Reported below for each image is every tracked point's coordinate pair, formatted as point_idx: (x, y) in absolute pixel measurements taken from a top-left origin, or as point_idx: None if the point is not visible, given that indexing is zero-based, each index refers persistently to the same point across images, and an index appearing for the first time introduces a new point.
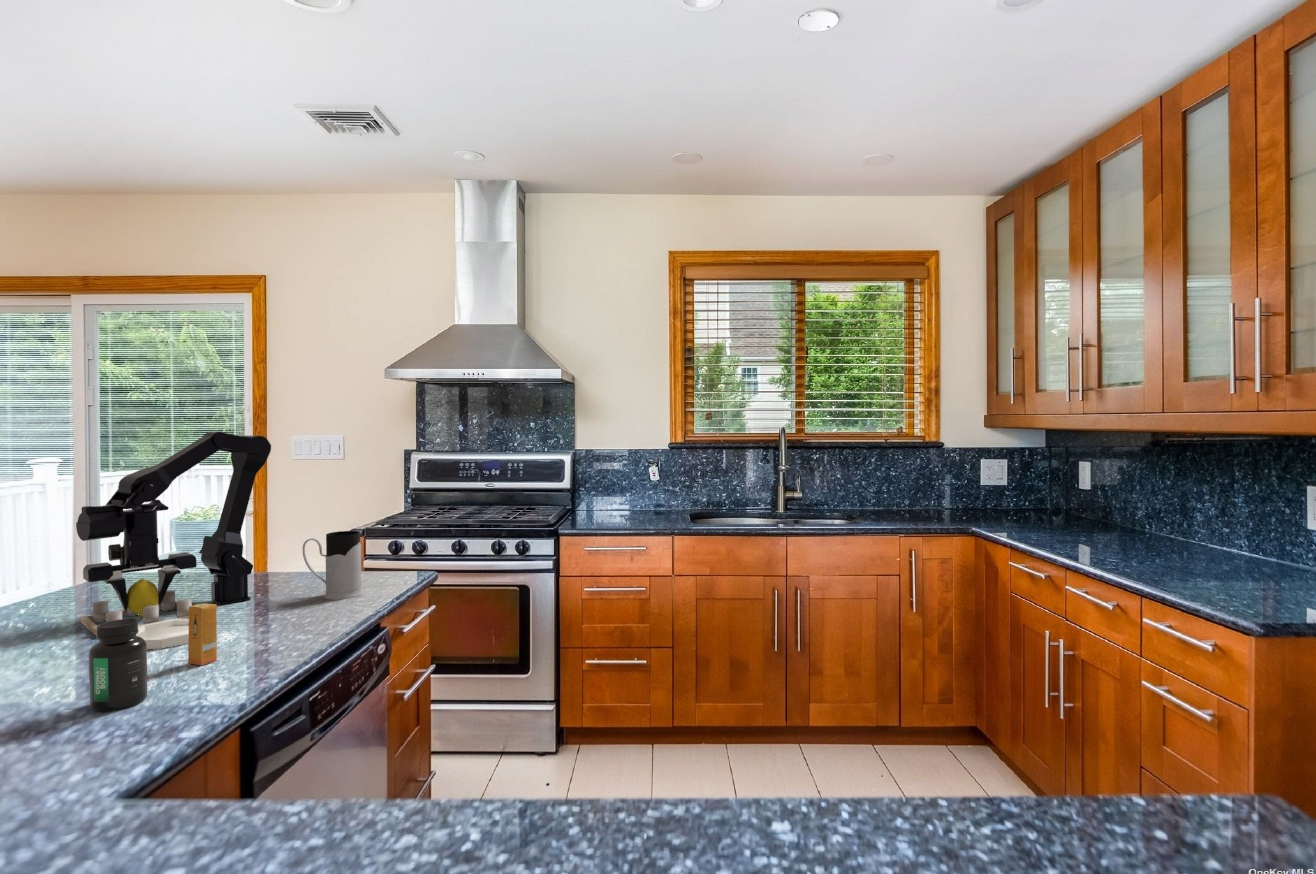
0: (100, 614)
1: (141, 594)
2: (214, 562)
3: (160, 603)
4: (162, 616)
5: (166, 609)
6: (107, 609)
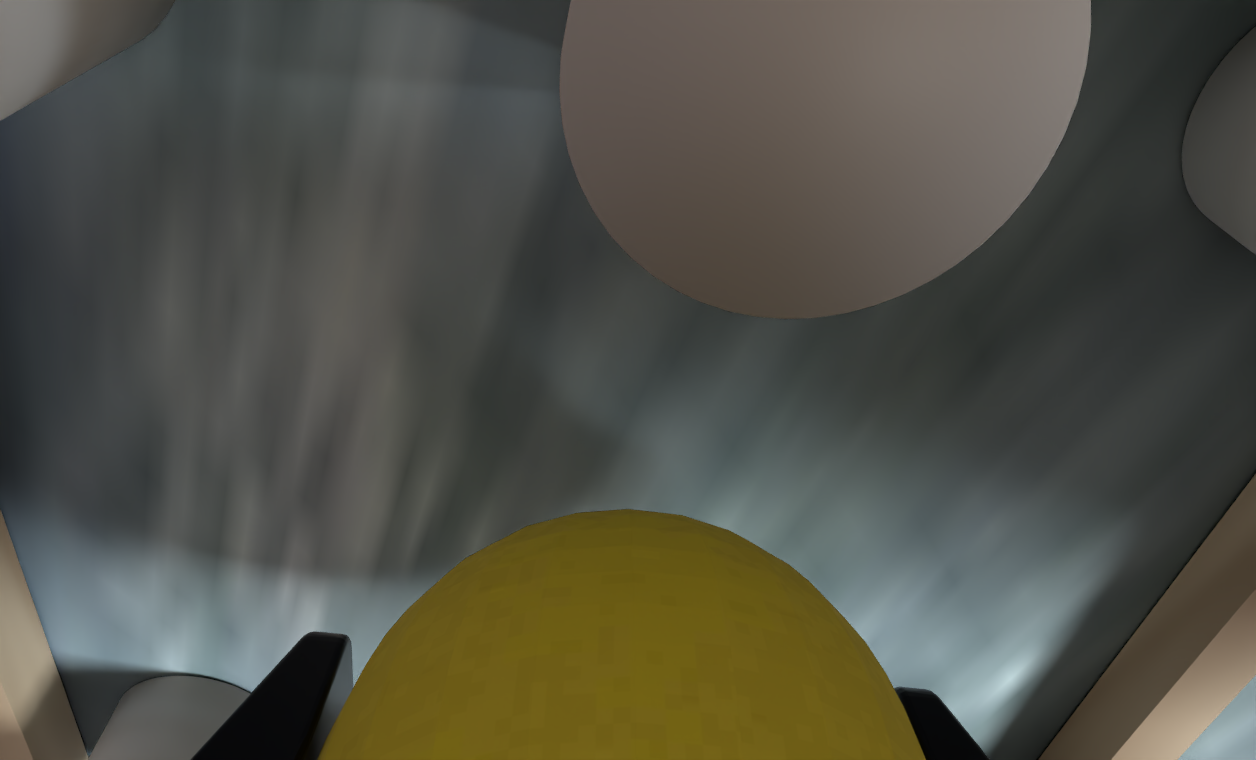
0: None
1: None
2: None
3: None
4: (893, 501)
5: (1221, 224)
6: (7, 111)
